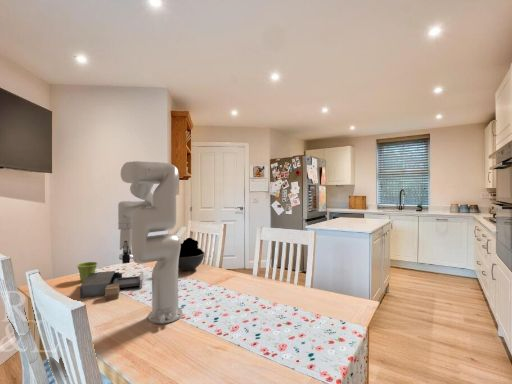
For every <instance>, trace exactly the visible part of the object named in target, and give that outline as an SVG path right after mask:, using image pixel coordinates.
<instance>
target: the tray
mask: <svg viewBox="0 0 512 384" xmlns="http://www.w3.org/2000/svg"><path fill="white" fill-rule="evenodd" d="M114 283H118V284H119V289H120V288H128V287H129V288H130V287H137V286H138V287H139V289H143V286H144V285H143V283H144V272H143V271H141V272H140V275H137V276H128V277H127V276H125V277H122V278H115V279H114V282H113V284H114Z"/></svg>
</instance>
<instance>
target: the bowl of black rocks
mask: <svg viewBox="0 0 512 384" xmlns="http://www.w3.org/2000/svg"><path fill="white" fill-rule="evenodd" d="M180 243H181V248H180V254H179V261H178V270H180V271H185V272H186V271H188V272H189V271H193V270H195V269H196V268H198V267H199V266H200V265H201V264H202V262H203V260H204V258H205V257H204V256H205V251H203V250H202V249H201V248H200V247H199V241H198V240H197V239H194V238H192V237H187V238H186V239H184V240H183V242H180Z"/></svg>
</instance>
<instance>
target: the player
mask: <svg viewBox="0 0 512 384" xmlns="http://www.w3.org/2000/svg"><path fill="white" fill-rule="evenodd" d="M115 278H123V272H120V271H117V272H116V270H111V271H99V272H95V273H90V274H89V275H88V277H87V278H86V279H85V281H84V282H82V283H80V285H79V299H85V298H93V297H95V298H96V297H102V296H104V297H105V288H106V286H107V285H115V284H118V283H114V284H113V282H114V279H115Z"/></svg>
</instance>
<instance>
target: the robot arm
mask: <svg viewBox="0 0 512 384" xmlns="http://www.w3.org/2000/svg"><path fill="white" fill-rule="evenodd" d="M120 178H121V180H122V182H124V183H126V184H130V188H129V191H130V193H131V194H132V196H134V197H136V198H138V199H140V201H130V200H128V201H127V200H124V201H119V202H118V203H117V205H118V206H117V208H118V209H117V210H118V212H117V215H118V218H117V220H118V223H117V225H118V227H117V228H118V230H120V232H119V250H120V251H122V254H123V255H122V260H121V261H122V264H130V262H131V261H130V260H131V259H130V255H129V253H132V257H133V259H132V260H133V261H134V263H136V264H138V265H139V264H140V265H141V264H147V263H153V262H154V263H155V262H156V263H155V264H154V266H153V269H152V272H151V296H152V297H151V298H152V299H151V301H152V302H151V304H152V305H151V309H152V310H151V311H150V312H149V313H148V315H147V320H148V321H149V322H150V323H153V324H158V325H159V324H161V325H162V324H170V323H172V322H175V321H177V320H178V319H180V318H182V316H183V310H182V308H180V307H179V269H178V261H179V254H180V248H181V243H182V242H181V239H180V238H179V236H177V235H175V234H173V233H165V234H164V233H163V234H155V235H149V234H150V233H157V232H166V231H170V230H172V229H174V228H175V227H176V225H177V197H176V196H177V191H178V187H179V182H180V172H179V169H178V168H177V167H176V165H174V164H172V163H170V162H169V163H168V162H159V161H158V162H155V161H140V160H139V161H137V160H136V161H135V160H134V161H126V162H125V163H123V165H122V167H121V169H120ZM155 184H157V187H155V189H154V191H153V193H152V189H153V186H154V185H155ZM142 200H143V201H142Z"/></svg>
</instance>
